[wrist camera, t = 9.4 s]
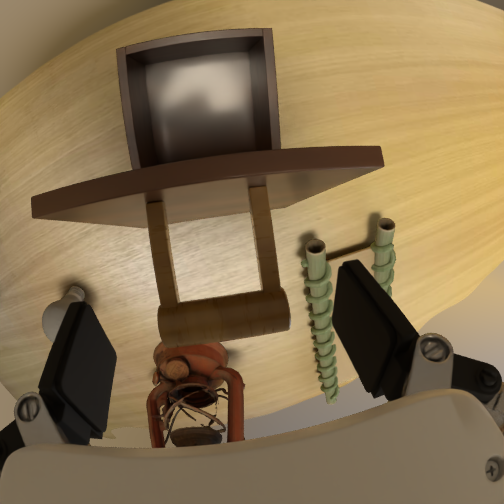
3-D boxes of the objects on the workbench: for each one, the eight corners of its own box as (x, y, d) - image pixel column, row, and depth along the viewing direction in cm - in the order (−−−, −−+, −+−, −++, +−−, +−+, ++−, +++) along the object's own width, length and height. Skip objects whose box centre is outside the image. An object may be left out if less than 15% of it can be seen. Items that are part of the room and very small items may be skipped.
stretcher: (290, 235, 38) (302, 254, 33) (384, 207, 38) (404, 221, 34) (318, 391, 59) (324, 409, 54) (375, 369, 59) (384, 385, 54)
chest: (138, 61, 24) (116, 48, 17) (254, 46, 25) (272, 27, 18) (157, 191, 32) (143, 221, 25) (264, 176, 33) (283, 201, 26)
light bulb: (75, 311, 38) (56, 358, 30) (53, 282, 35) (27, 327, 27) (103, 300, 38) (85, 351, 30) (80, 269, 35) (55, 316, 26)
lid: (30, 196, 8) (64, 375, 8) (381, 145, 9) (399, 326, 10) (142, 219, 24) (153, 293, 25) (284, 198, 25) (294, 272, 26)
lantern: (223, 320, 43) (255, 523, 17) (248, 367, 50) (283, 525, 24) (129, 348, 43) (113, 524, 18) (166, 388, 50) (170, 535, 24)
